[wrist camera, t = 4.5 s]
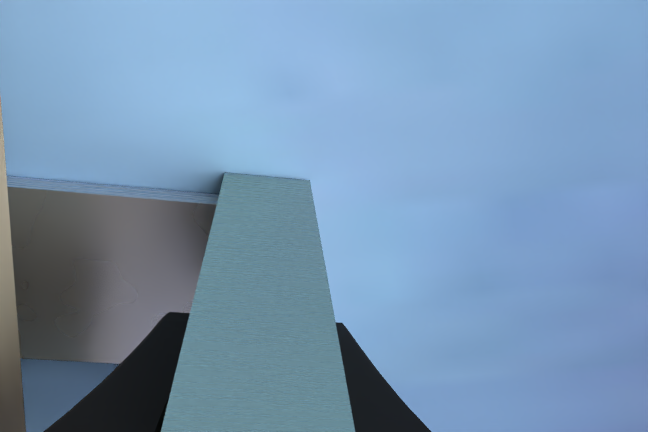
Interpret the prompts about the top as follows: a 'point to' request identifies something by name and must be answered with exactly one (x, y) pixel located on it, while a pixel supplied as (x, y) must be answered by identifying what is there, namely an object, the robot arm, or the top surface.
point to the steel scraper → (187, 294)
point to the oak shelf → (8, 318)
